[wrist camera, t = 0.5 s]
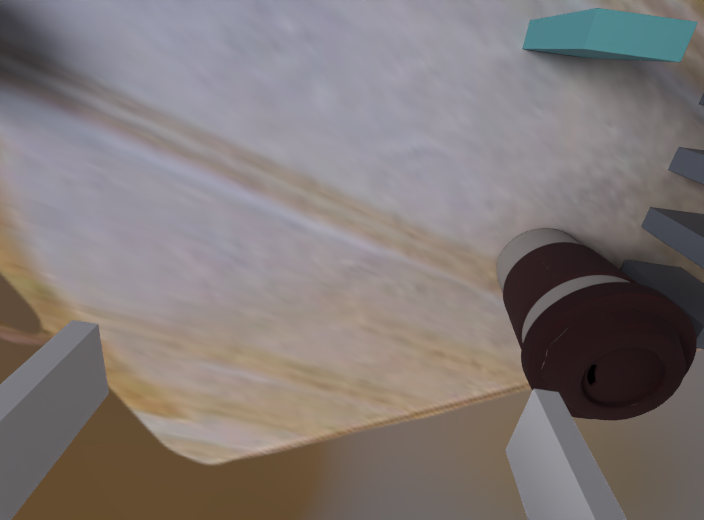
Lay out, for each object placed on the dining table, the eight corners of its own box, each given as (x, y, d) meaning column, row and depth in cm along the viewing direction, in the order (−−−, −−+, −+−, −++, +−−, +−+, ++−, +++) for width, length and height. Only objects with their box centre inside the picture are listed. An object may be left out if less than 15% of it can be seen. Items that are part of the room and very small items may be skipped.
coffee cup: (617, 237, 36) (759, 346, 23) (551, 323, 41) (638, 457, 27) (517, 194, 35) (606, 283, 22) (460, 287, 39) (504, 410, 26)
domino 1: (530, 20, 30) (597, 8, 21) (600, 30, 30) (697, 22, 21) (522, 48, 30) (584, 48, 21) (590, 58, 30) (680, 62, 21)
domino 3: (625, 260, 37) (704, 326, 28) (680, 267, 37) (776, 335, 28) (617, 277, 38) (691, 347, 29) (671, 284, 38) (761, 356, 29)
